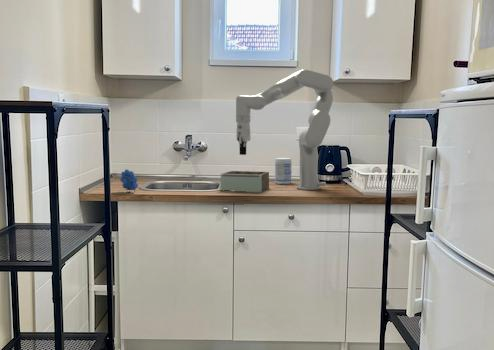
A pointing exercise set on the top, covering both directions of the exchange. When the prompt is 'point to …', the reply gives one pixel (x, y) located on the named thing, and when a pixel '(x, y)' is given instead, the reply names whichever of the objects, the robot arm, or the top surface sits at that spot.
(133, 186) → the grapes
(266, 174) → the crate
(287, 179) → the supplement tub
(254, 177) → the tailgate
